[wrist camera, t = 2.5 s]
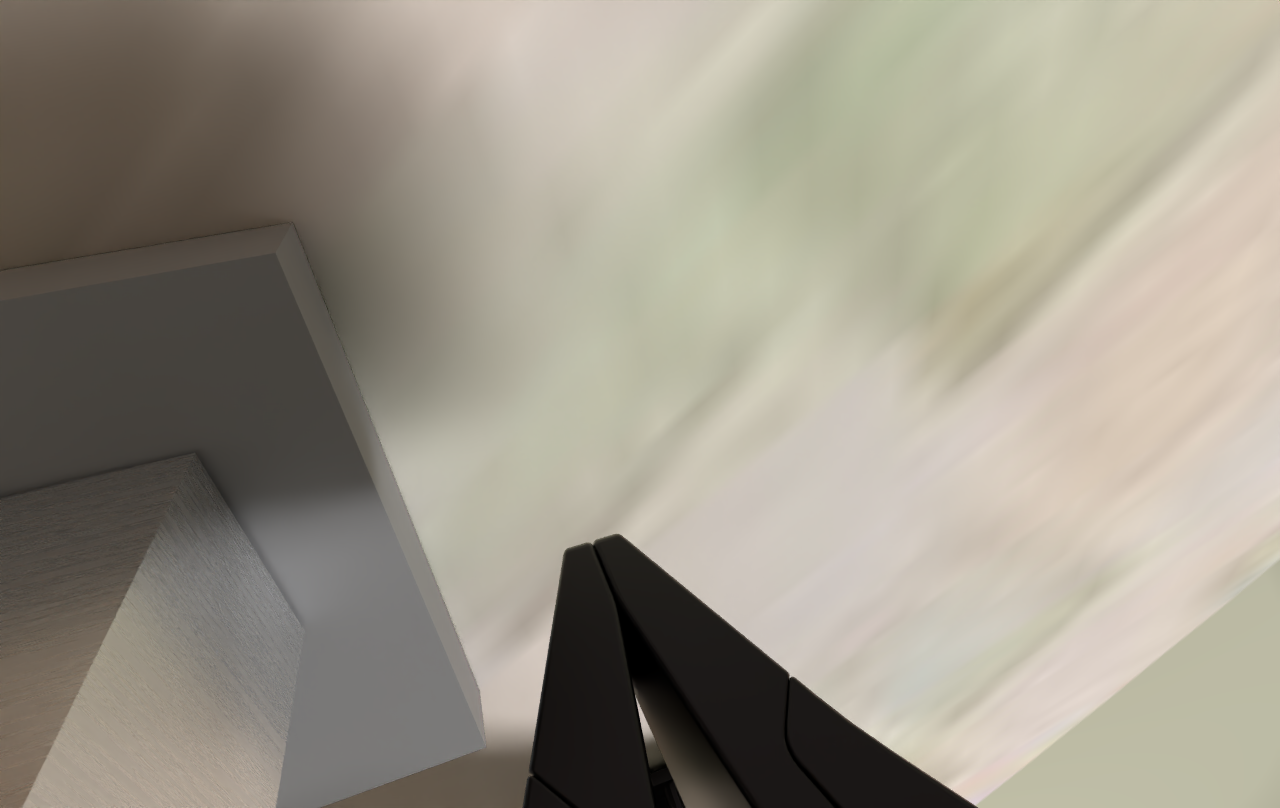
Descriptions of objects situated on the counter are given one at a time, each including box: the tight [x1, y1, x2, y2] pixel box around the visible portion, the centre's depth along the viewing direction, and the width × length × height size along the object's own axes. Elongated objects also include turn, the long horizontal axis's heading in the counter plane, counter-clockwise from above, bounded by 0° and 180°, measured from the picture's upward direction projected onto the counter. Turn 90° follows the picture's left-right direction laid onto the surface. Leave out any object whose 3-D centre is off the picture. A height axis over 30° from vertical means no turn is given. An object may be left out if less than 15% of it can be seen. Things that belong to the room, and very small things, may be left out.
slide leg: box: [0, 453, 304, 808], centre depth 8 cm, size 7×4×5 cm, turn 5°
